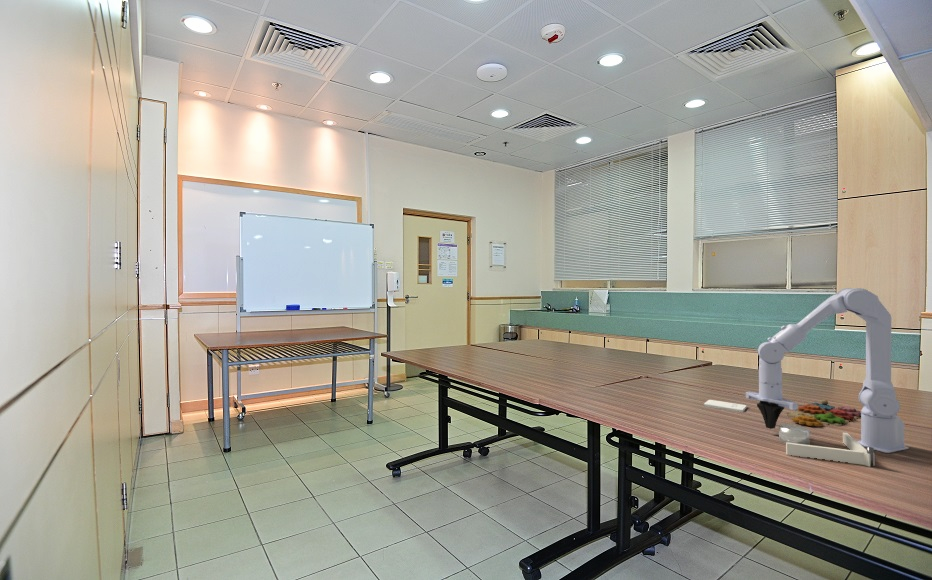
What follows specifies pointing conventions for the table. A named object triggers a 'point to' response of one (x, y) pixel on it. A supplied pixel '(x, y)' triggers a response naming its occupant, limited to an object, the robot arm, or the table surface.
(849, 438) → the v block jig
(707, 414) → the table surface
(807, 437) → the translucent glass bowl
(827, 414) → the gear puzzle
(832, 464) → the table surface
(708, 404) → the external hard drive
